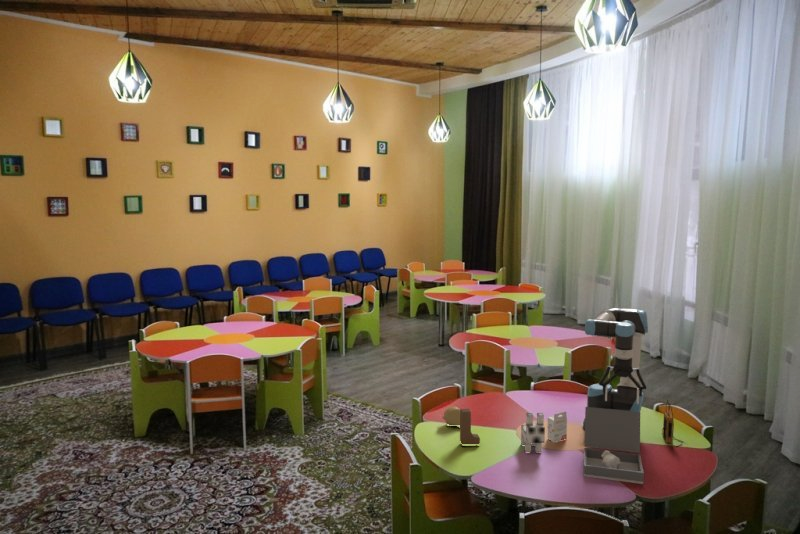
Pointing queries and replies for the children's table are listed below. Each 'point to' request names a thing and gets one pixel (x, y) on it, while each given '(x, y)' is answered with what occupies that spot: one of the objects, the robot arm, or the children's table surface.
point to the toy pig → (452, 416)
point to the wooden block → (467, 428)
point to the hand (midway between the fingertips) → (621, 401)
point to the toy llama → (533, 432)
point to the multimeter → (668, 426)
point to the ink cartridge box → (557, 427)
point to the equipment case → (626, 471)
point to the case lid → (612, 429)
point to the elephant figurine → (610, 460)
